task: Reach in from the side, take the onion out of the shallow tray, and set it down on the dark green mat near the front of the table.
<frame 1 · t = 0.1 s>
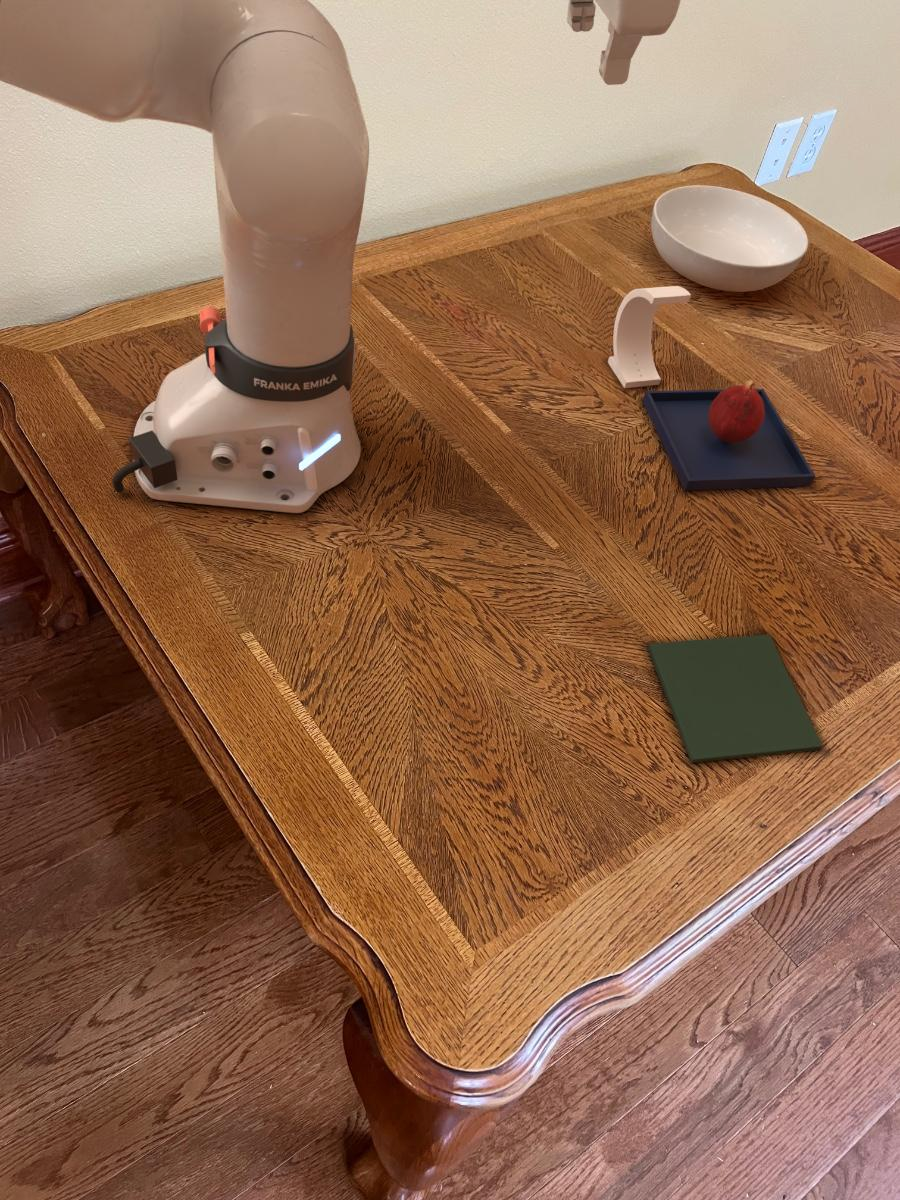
hand: (595, 53, 71), 39 cm above the table, tool pointing down, fingers open, 8 cm apart
dark green mat: (731, 696, 83), on the table
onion: (724, 441, 105), resting on tray
tray: (723, 442, 105), on the table
serving bowl: (713, 270, 129), on the table
headphone stand: (630, 372, 112), on the table
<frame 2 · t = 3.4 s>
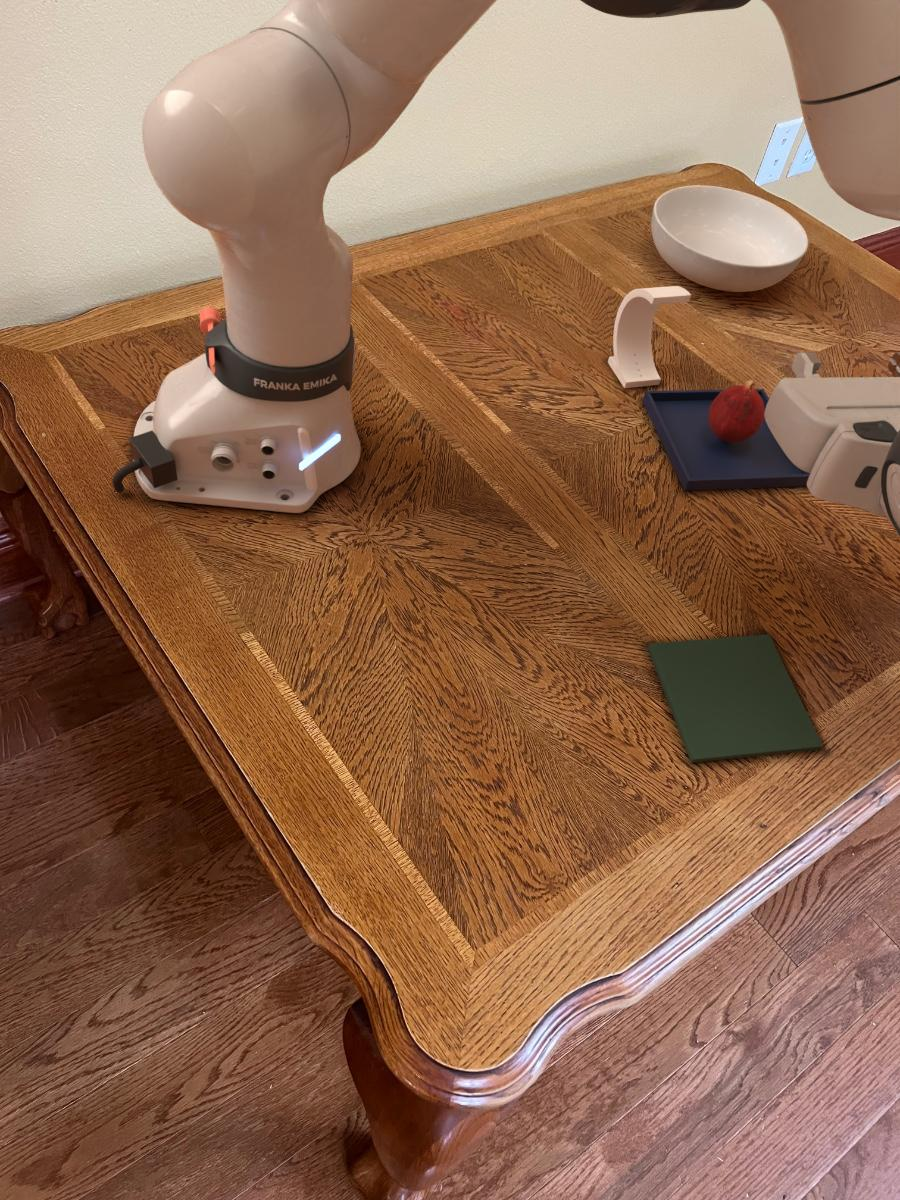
hand: (850, 358, 82), 20 cm above the table, tool horizontal, fingers open, 8 cm apart
nothing on the table moved.
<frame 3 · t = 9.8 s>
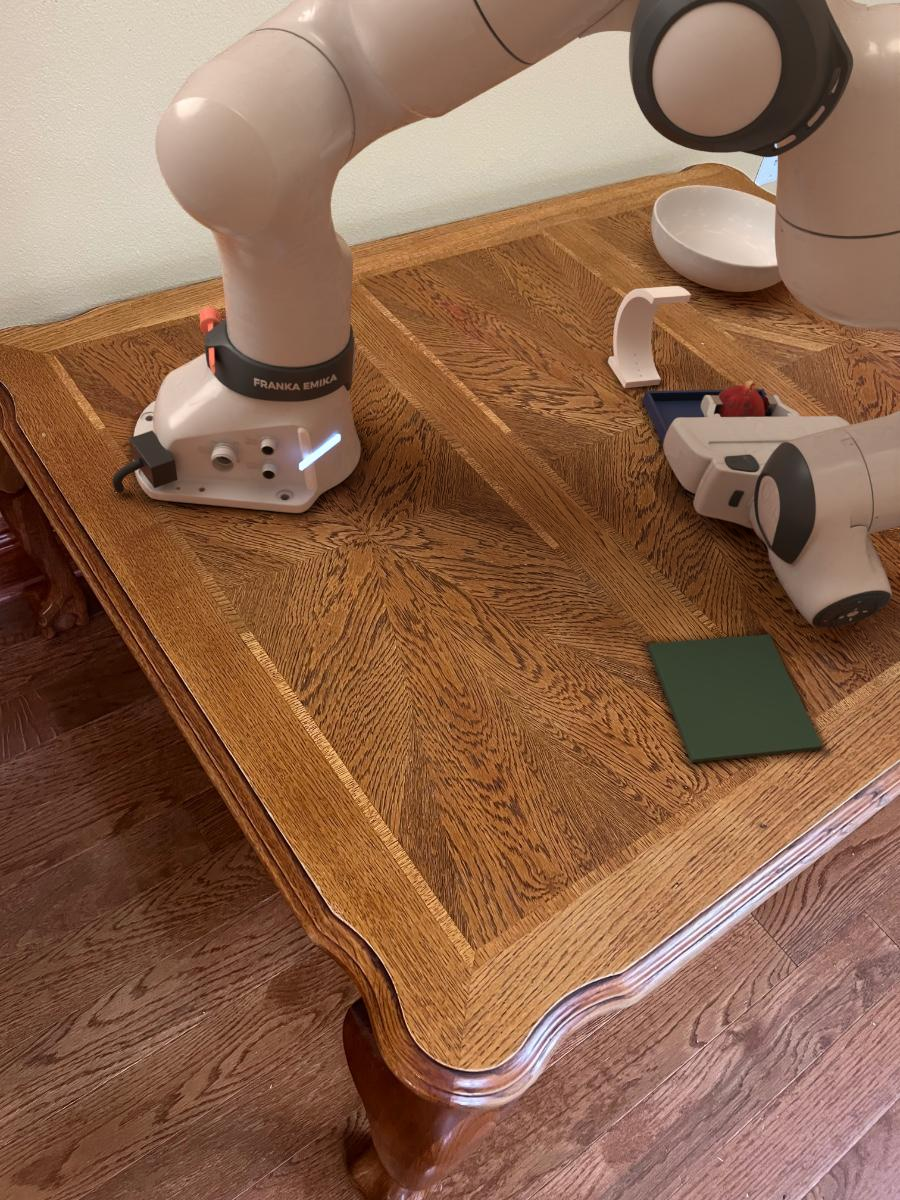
hand: (737, 399, 102), 5 cm above the table, tool horizontal, fingers closed on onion, 5 cm apart
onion: (724, 441, 105), resting on tray, touching gripper
everything else where it was.
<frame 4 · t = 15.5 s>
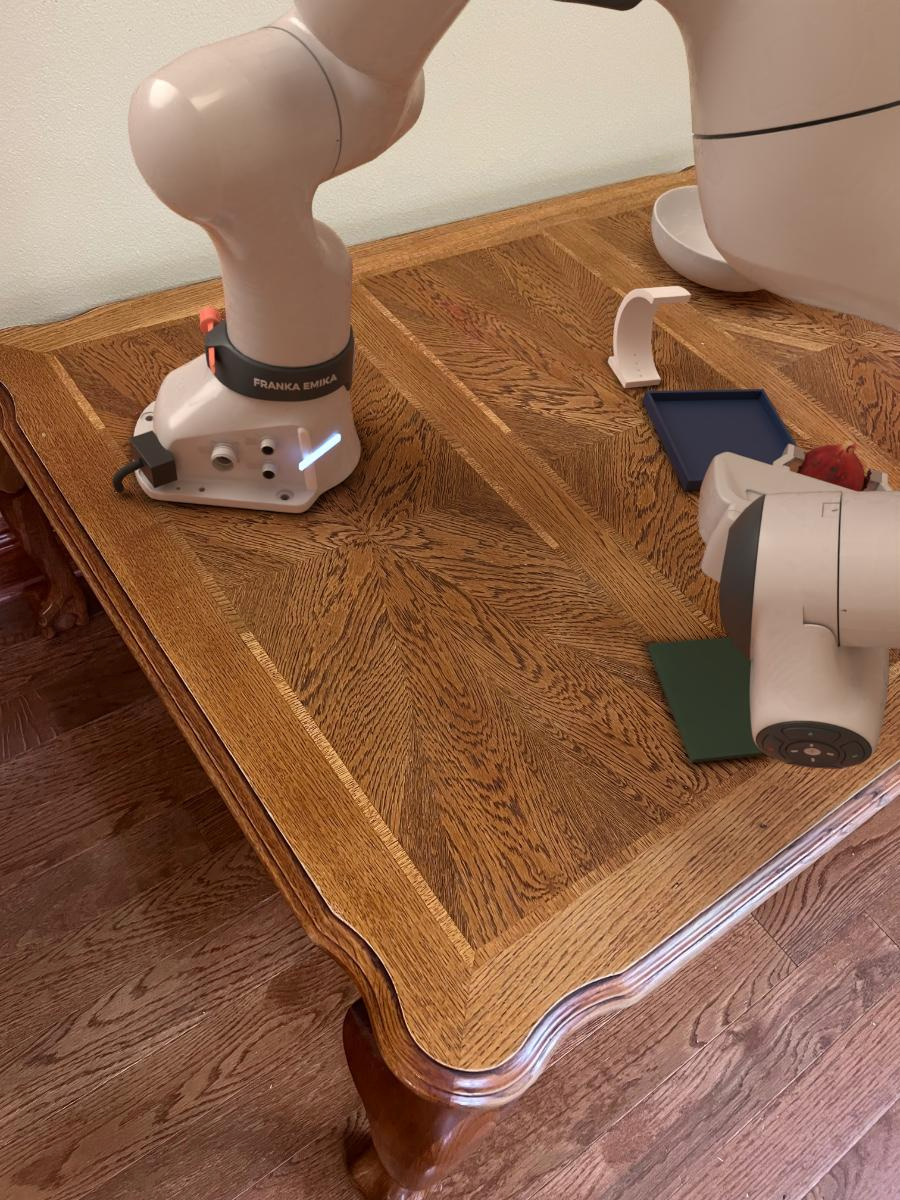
hand: (833, 464, 79), 17 cm above the table, tool horizontal, fingers closed on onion, 5 cm apart
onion: (806, 514, 82), point 11 cm above the table, touching gripper
everything else where it was.
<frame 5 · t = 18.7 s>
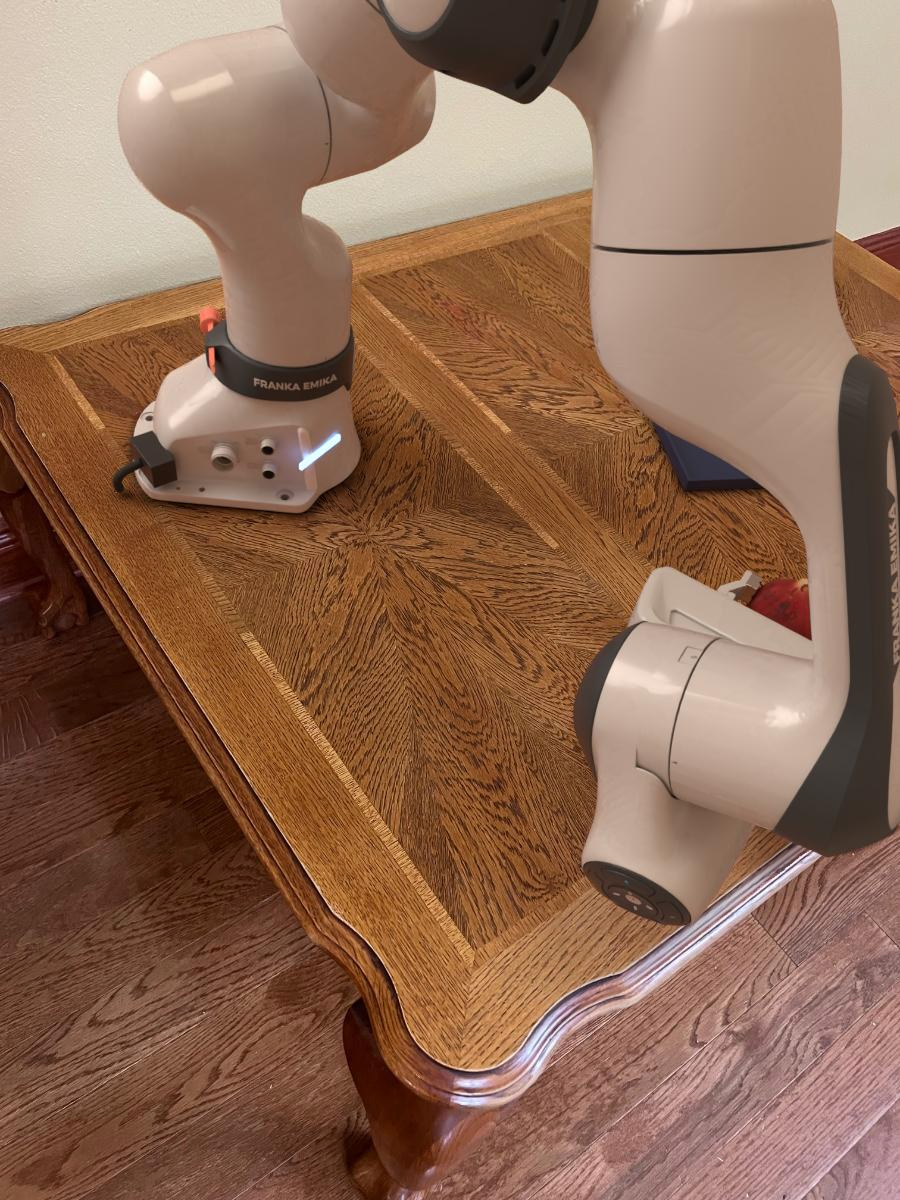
hand: (792, 599, 74), 13 cm above the table, tool horizontal, fingers closed on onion, 5 cm apart
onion: (763, 646, 77), point 8 cm above the table, touching gripper
everything else where it was.
when the fingers open (6 cm above the table, at t = 21.2 s): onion stays where it is, resting on dark green mat.
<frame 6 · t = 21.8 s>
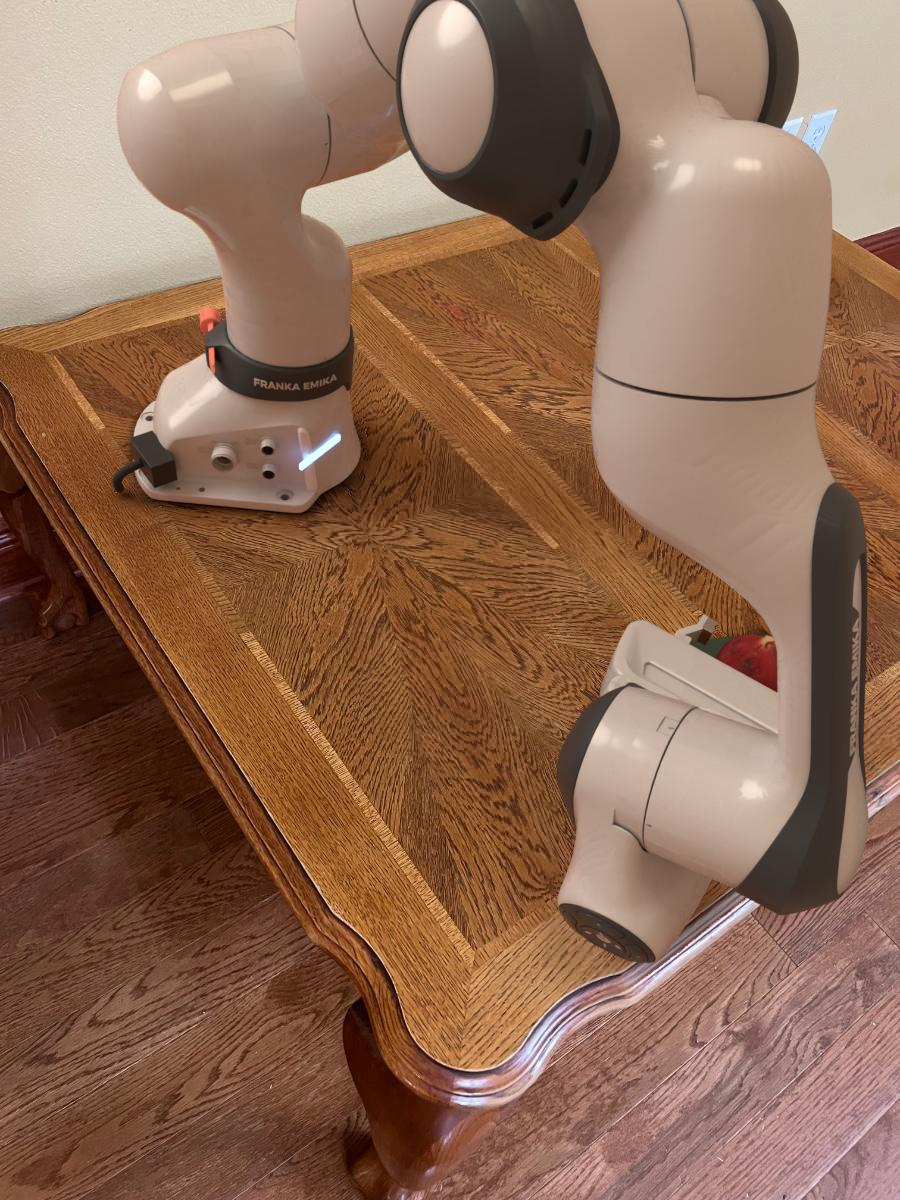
hand: (760, 649, 79), 6 cm above the table, tool horizontal, fingers open, 8 cm apart
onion: (733, 695, 82), resting on dark green mat
everything else where it was.
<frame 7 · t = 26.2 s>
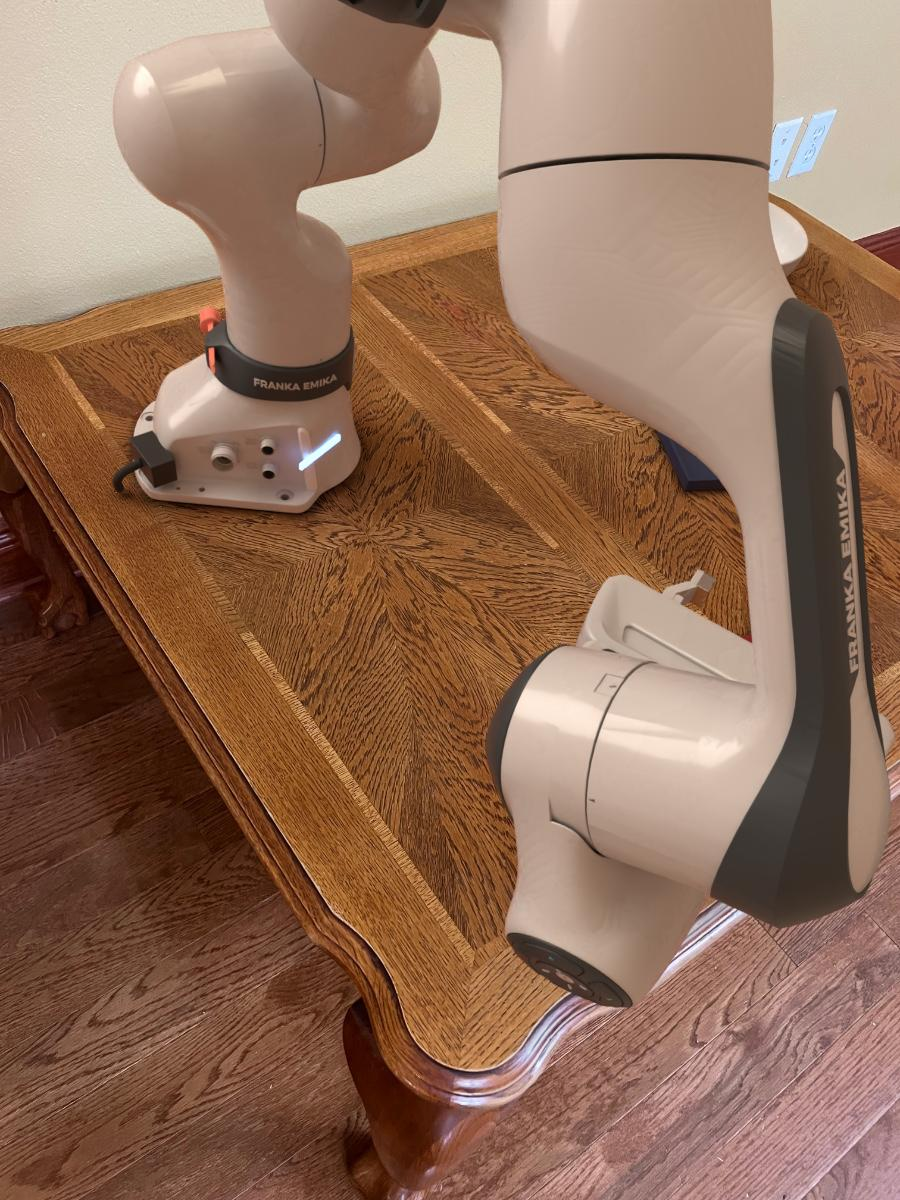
hand: (767, 612, 64), 19 cm above the table, tool horizontal, fingers open, 8 cm apart
nothing on the table moved.
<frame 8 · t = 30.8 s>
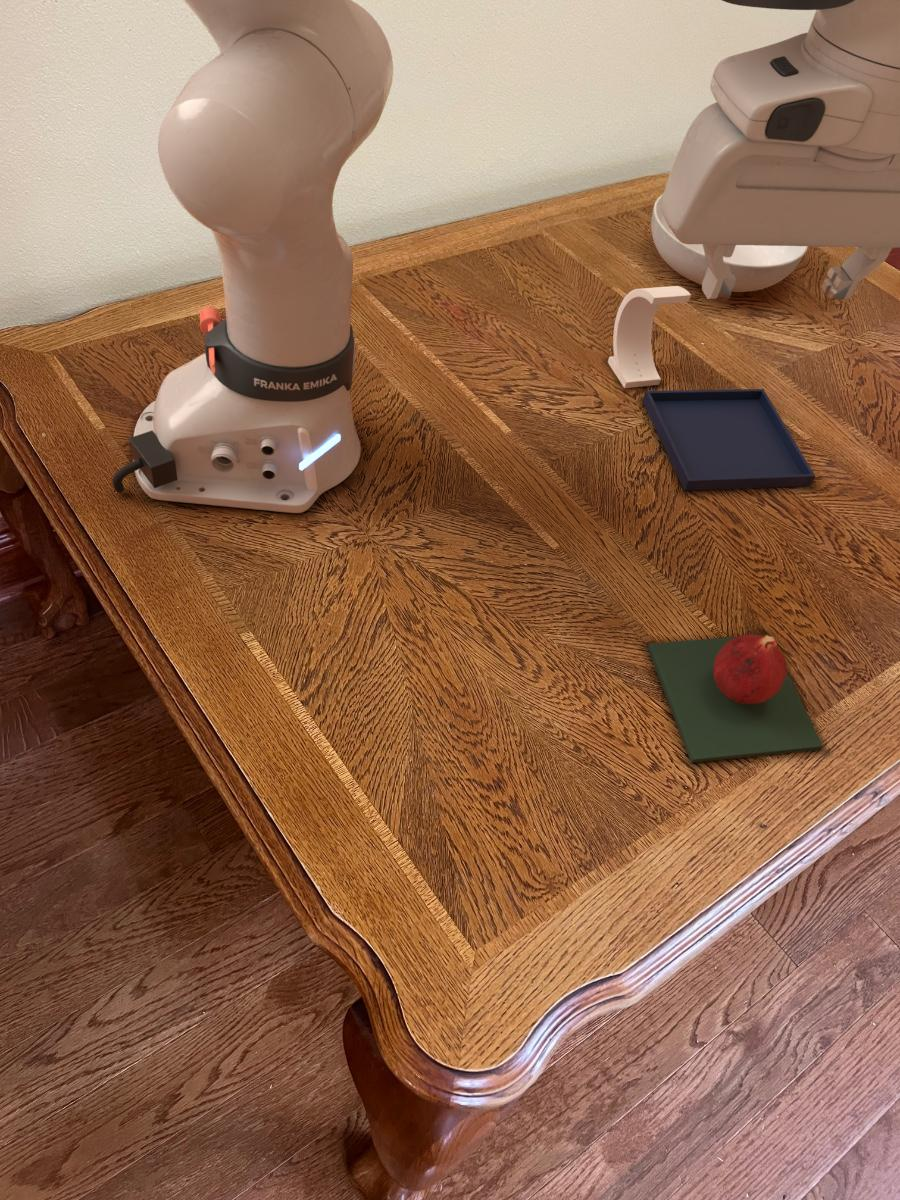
hand: (774, 295, 67), 31 cm above the table, tool pointing down, fingers open, 8 cm apart
nothing on the table moved.
at the end: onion inside the target area on the dark green mat (0.1 cm from its centre), point 0.4 cm above the dark green mat's base; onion touching dark green mat; the gripper is holding nothing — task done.
